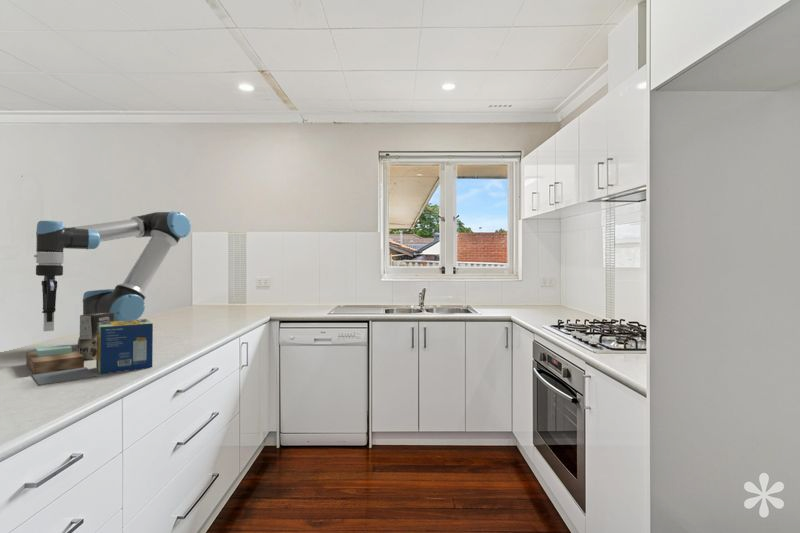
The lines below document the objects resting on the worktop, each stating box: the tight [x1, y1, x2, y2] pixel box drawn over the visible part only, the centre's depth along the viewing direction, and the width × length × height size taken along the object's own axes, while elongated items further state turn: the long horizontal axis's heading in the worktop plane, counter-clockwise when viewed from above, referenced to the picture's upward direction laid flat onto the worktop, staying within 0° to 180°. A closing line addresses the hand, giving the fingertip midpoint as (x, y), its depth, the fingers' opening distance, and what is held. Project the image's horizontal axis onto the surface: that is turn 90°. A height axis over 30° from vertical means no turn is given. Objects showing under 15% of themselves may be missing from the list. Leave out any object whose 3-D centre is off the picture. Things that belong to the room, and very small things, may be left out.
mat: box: [31, 366, 97, 386], centre depth 138 cm, size 14×14×1 cm
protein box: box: [95, 318, 154, 375], centre depth 149 cm, size 10×15×16 cm
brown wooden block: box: [25, 347, 85, 375], centre depth 149 cm, size 13×18×4 cm
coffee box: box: [78, 313, 114, 361], centre depth 163 cm, size 9×6×16 cm
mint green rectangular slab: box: [35, 344, 73, 357], centre depth 150 cm, size 9×6×2 cm, turn 136°
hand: (48, 330), depth 155 cm, fingers closed
